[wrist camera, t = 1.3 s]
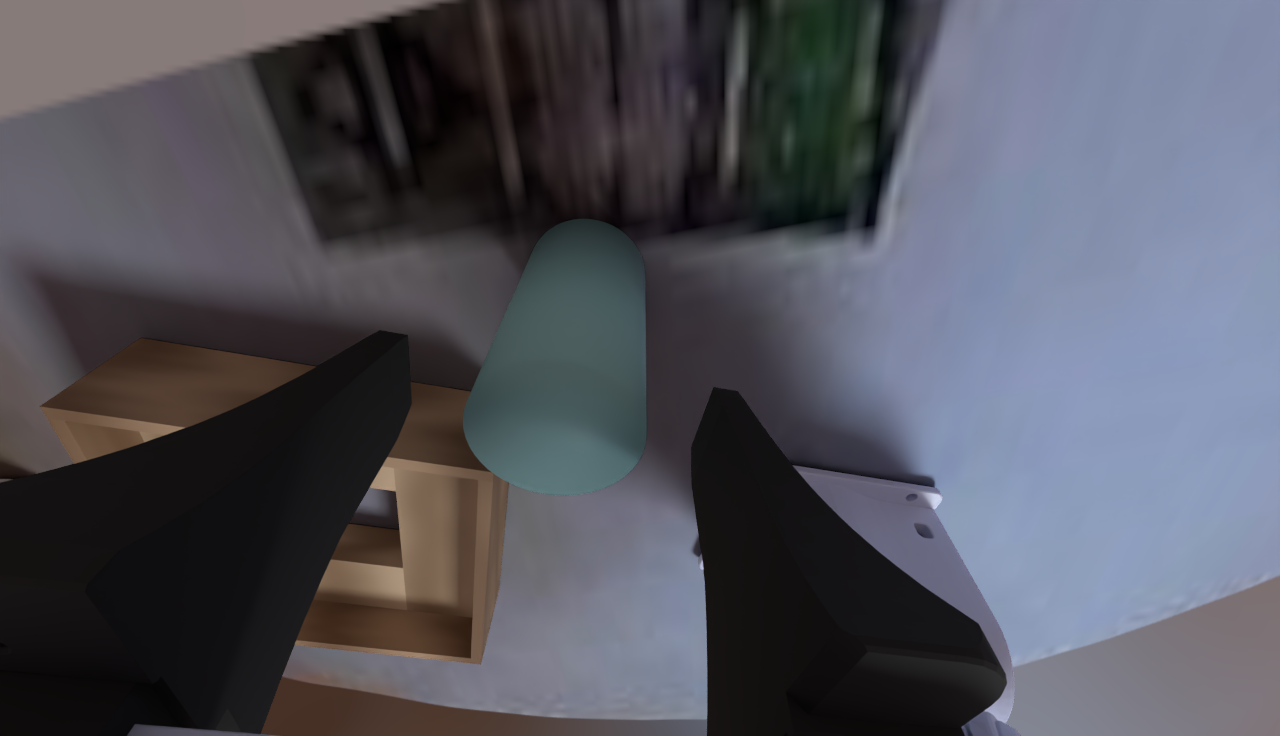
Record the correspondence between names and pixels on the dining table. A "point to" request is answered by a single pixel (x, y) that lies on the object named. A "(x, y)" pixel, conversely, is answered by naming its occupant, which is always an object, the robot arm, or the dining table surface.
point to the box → (365, 556)
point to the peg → (566, 367)
